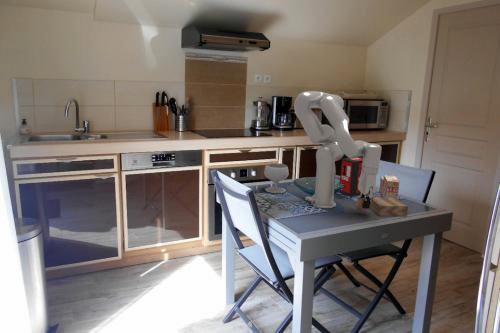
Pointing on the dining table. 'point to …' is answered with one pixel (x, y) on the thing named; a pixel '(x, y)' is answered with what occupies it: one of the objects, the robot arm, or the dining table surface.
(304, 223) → the dining table surface
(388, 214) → the walnut base block
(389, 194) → the stack of blocks
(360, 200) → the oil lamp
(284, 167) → the chalice
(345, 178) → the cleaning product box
